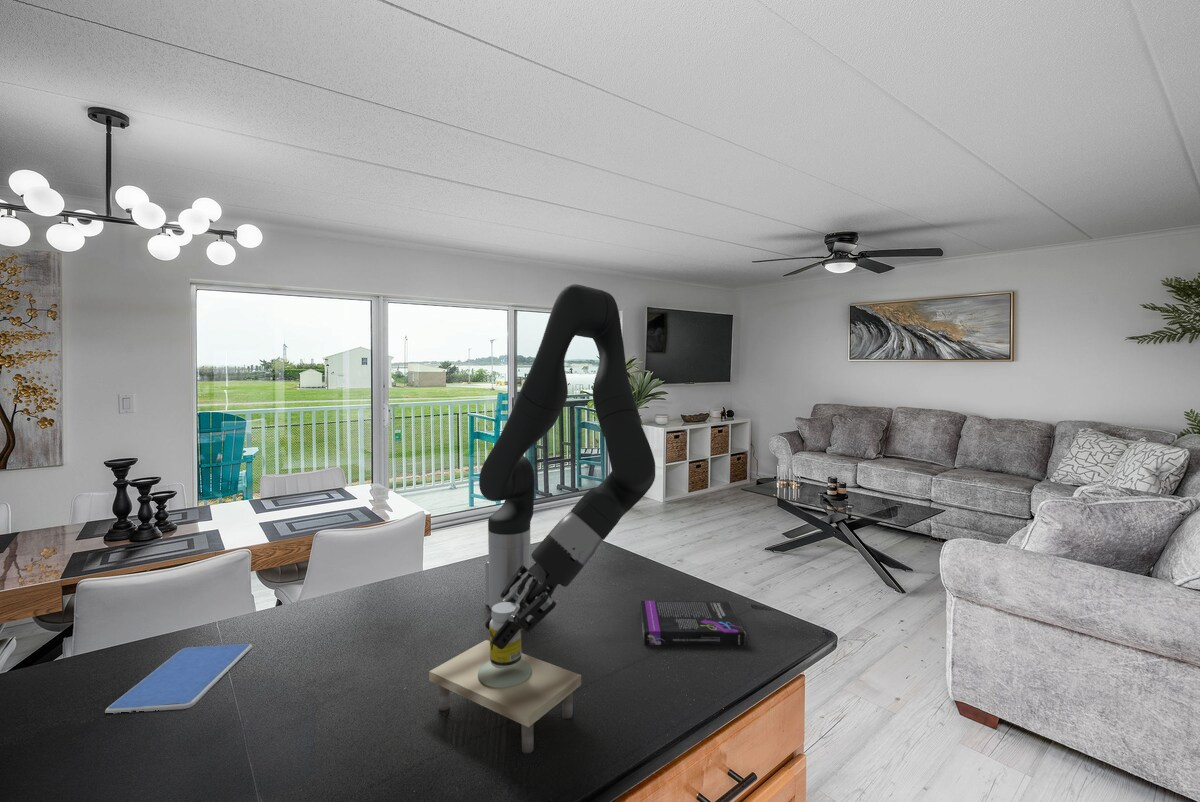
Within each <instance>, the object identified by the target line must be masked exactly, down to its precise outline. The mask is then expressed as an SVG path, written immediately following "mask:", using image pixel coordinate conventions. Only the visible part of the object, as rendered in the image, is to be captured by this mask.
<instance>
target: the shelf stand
mask: <svg viewBox="0 0 1200 802" xmlns="http://www.w3.org/2000/svg"><path fill="white" fill-rule="evenodd" d="M521 657H522V658H521V661H520V663H519V664H517V665H516V666H514V667H510V668H496V667H494V666H493V665H492V664H491V662H490V640H489V639H485V640H483V641H481V642H479V643H478V644H476V645H474V646H473V647H471V648H468V649H467V650H465V651H464V652H462V653H460V654H458V655H456V656H454V657H452V658H450V659H449V660H447V661H446V662H443V663H442V664H440V665H438V666H437V667H434V668H433V669H431V670H429V672H428V675H429V678H428V679H429V682H432V683H433V684H436V685H437V687H438V710H439V711H442V712H443V711H447V710H449V709H450V707H451V706H450V704H451V703H450V692H452V693H455V694H457V695H459V696H461V697H463V698H464V699H468V700H469V701H471V702H473V703H475V704H477V705H481V706H482V707H484V708H486V709H488V710H490V711H493V712H494V713H497V714H500V715H501V716H503V717H505V718H507V719H510V720H511V721H514V722H515V723H519V724H520V725H521V751H522V753H523V754H531V753H533V751H534V748H535V746H534V745H535V744H534V743H535V742H534V741H535V740H534V737H535V736H534V724H535V723H536V722H537V721H538V720H540V719H541V718H542V717H543V716H545V715H546V714H547V713H548V712H550V711H551V710H552V709H553V708H554V707H556V706H557V705H558V704H559V703H561V717H562V719H566V720H567V719H571V718H572V717H573V713H574V712H573V711H574V710H573V707H574V706H573V698H574V697H573V692H575V691H576V690H577V688H579V687H581V686H582V674H579V673H577V672H573V671H570V670H568V669H565V668H563V667H560V666H558V665H554V664H553V663H549V662H547V661H543V660H541V659H538V658H536V657H533V656H531V655H528V654H525V653H523V652H521Z"/></svg>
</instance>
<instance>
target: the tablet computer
mask: <svg viewBox="0 0 1200 802" xmlns="http://www.w3.org/2000/svg"><path fill="white" fill-rule="evenodd" d="M252 649H253V645H252V644H250V643H243V644H242V643H239V644H223V645H208V646H207V645H205V646H191V647H190V646H189V647H183V648H182V649H180V650H179V651H177V652H176V653H175V654H173V655H172V656H170V658H168V659H167V660H165V662H163V663H162V664H161V665H160V666H158V667H157V668H156V669H155V670H153V671H152V672H151V673H149V674H148V675H147V676H145V678H143V679H142V680H140V681H139V682H138V683H137V684H135V685H134V686H132V688H130V689H129V690H128V691H127V692H125V693H124V694H122V696H120V697H118V698H117V700H115V701H114V702H112V704H110V705H109V706H108V707H107V708H106V709H105V711H104V713H105V714H106V713H113V714H122V713H121V712H129V713H134V712H133V711H136V712H135V713H140V712H139V711H144V712H155V710H156V712H157V711H158V710H159V711H170V710H171V711H173V710H186V709H189V708H192V707H194V705H195V704H197V703H198V702H199V701H200V700H201V699H202V698H203V697H204V696H205V694H207V692H209V691H210V689H211V688H212V687H213V686H215V684H216V683H218V681H219V680H221V679H222V677H224V676H225V674H227V672H229V671H230V670H231V669H232V668H233V667H234V666H235V665H236V664H237V663H238V662H239V661H240V660H241V659H242V658H243V657H244V656H245V655H246V654H247V653H248V652H250V650H252Z"/></svg>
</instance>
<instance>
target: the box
mask: <svg viewBox="0 0 1200 802" xmlns="http://www.w3.org/2000/svg"><path fill="white" fill-rule="evenodd" d="M639 615H640V623H641V630H642V639H643V645H645V646H646V645H647V646H649V645H650V646H652V645H653V646H656V645H657V646H746V639H747V638H746V635H747V632H746V631H745V630H744V629H743V626H742V625H741V622H740V621H739V618H738V617H737V615H736V613H735V611H734V609H733V607H732V605H731V602H730V601H715V600H714V601H710V600H708V601H704V600H702V601H701V600H698V601H695V600H640V601H639Z"/></svg>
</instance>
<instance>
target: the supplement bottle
mask: <svg viewBox="0 0 1200 802" xmlns="http://www.w3.org/2000/svg"><path fill="white" fill-rule="evenodd" d="M515 608H516V604H515V603H512V602H502V603H498V604H495V605H494V606H493V607H492V610H491V615H490V616H492V619H491V621H490V625H489V628H490V630H489V641H490V662H491V664H492V665H493V666H494V667H496V668H510V667H514V666H516V665H517V664H519V663H520V661H521V658H522V657H521V653H522V630H519V631H518V632H517V633H516V634H515V636H514V637H513V638H512V639H511V640H510V642H509V643H508V644H507V645H506V646H505V648H503V649H499V648H498V647H497V646H495V645H494V644H493V642H492V637H493V636H494V635H495V634H496V633H497V631H498V630H499V629H500V628H501V627H502V626H503V624H504V623H505V622H506V621H507V620H509V618H510V616H511V615H512V613H513V611H514V610H515Z"/></svg>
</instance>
